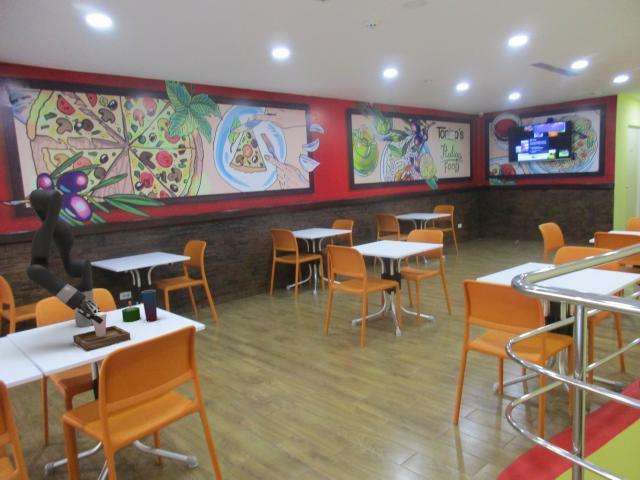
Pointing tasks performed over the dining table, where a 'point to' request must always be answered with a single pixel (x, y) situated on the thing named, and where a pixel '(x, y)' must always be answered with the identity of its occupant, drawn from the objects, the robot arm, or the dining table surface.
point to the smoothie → (100, 328)
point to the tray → (101, 338)
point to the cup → (150, 305)
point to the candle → (131, 313)
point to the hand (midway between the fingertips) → (103, 320)
